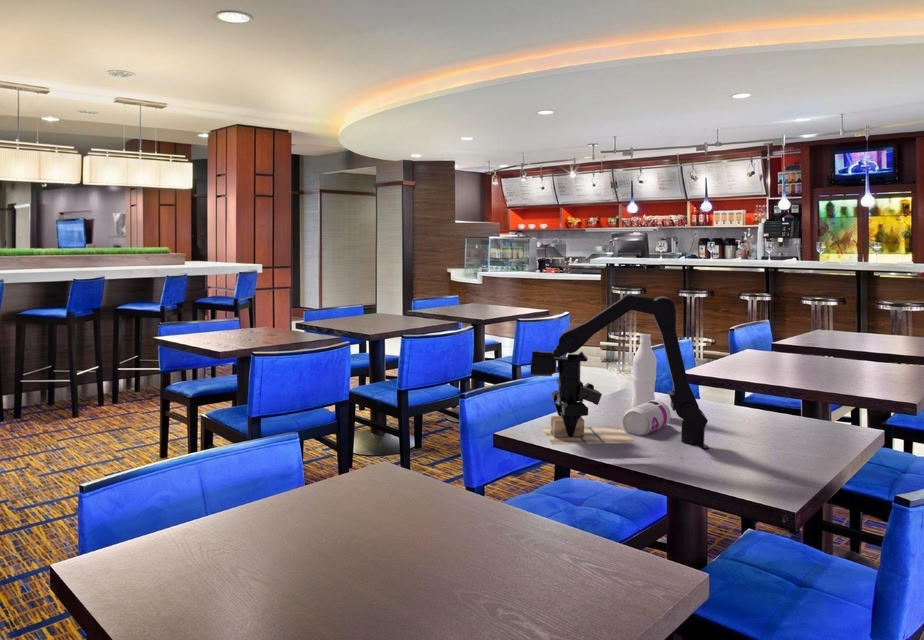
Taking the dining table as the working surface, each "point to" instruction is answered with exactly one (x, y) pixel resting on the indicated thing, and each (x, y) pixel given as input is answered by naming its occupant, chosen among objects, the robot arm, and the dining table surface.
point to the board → (592, 436)
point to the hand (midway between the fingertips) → (568, 433)
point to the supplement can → (646, 418)
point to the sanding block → (560, 429)
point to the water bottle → (644, 372)
